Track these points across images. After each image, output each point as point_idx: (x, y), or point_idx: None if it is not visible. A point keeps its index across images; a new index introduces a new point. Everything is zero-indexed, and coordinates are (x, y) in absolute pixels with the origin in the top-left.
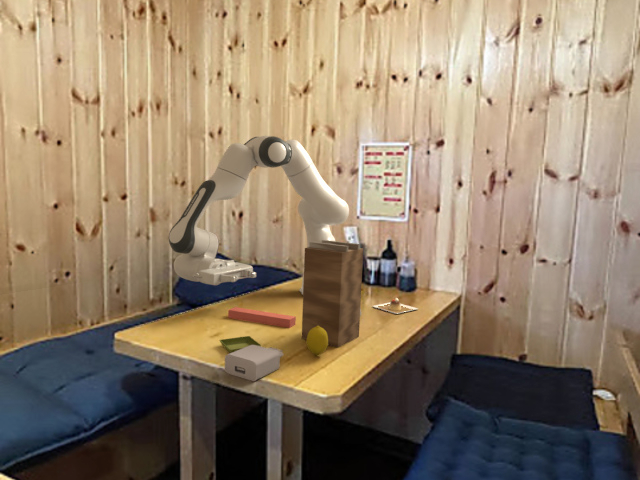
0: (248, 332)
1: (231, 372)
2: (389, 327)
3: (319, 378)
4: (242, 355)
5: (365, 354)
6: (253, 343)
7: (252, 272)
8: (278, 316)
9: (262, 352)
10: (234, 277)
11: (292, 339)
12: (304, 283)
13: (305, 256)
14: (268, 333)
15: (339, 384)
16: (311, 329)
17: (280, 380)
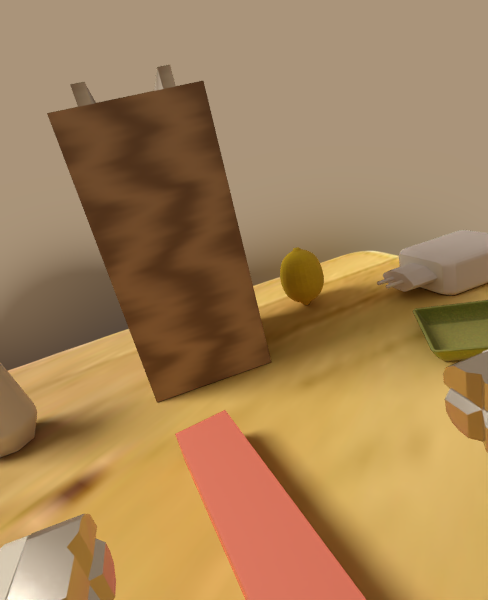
0: (416, 437)
1: None
2: (41, 380)
3: (352, 267)
4: (478, 235)
5: None
6: (428, 332)
7: (60, 539)
8: (232, 454)
9: (434, 243)
10: (483, 354)
11: (296, 362)
12: (232, 206)
13: (210, 113)
14: (338, 411)
15: (336, 261)
16: (309, 254)
17: None
